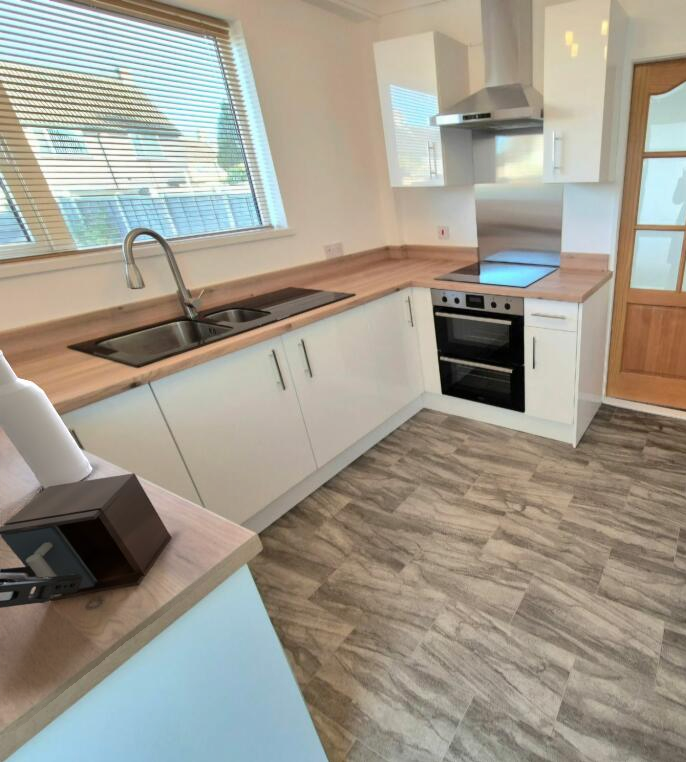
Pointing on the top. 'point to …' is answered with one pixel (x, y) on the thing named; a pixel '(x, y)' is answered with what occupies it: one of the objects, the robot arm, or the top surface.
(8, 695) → the top surface
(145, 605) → the top surface
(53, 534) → the glass door
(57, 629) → the top surface
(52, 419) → the bottle
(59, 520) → the walnut cabinet
